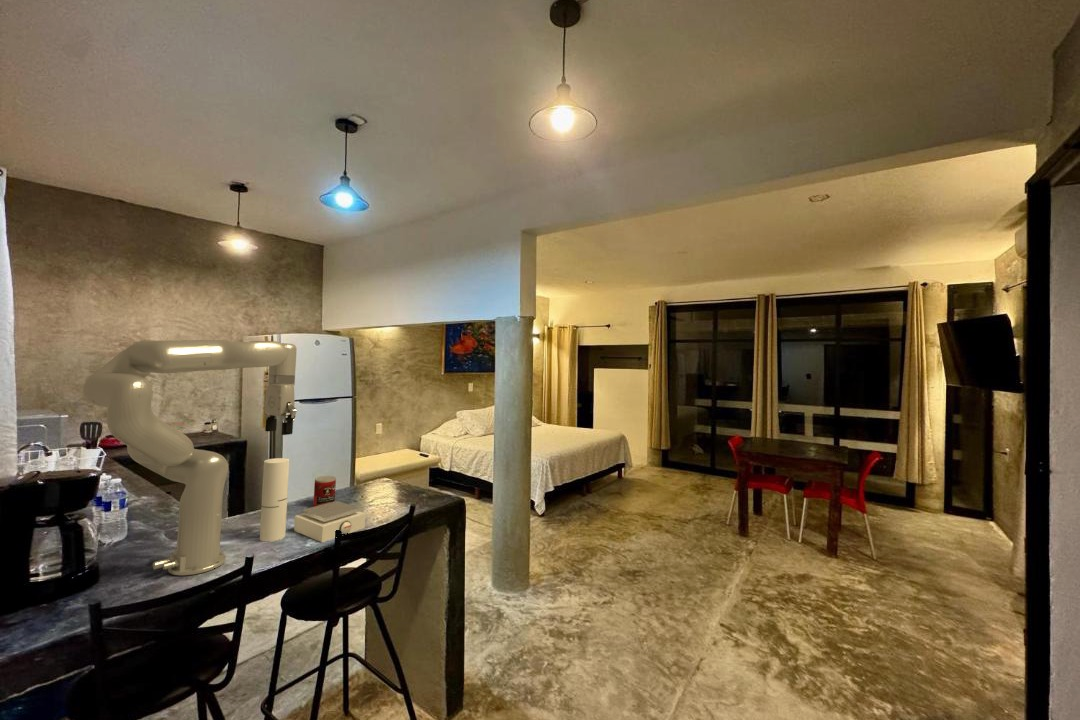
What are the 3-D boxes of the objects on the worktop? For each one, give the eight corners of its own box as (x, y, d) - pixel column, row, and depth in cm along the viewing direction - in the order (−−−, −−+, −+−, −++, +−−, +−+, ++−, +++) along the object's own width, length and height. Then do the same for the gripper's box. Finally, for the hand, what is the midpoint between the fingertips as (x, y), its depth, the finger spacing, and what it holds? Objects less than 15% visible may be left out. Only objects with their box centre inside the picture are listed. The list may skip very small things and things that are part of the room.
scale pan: (324, 521, 141) (324, 518, 141) (301, 513, 148) (302, 509, 148) (359, 511, 152) (359, 508, 152) (336, 504, 159) (336, 500, 159)
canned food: (315, 510, 168) (317, 481, 168) (311, 504, 174) (312, 477, 174) (336, 506, 173) (338, 479, 173) (331, 501, 179) (333, 474, 179)
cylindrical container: (289, 536, 142) (293, 460, 143) (266, 543, 136) (271, 464, 137) (277, 531, 146) (281, 457, 146) (255, 538, 140) (259, 460, 140)
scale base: (323, 543, 138) (324, 527, 138) (294, 530, 147) (294, 516, 147) (366, 528, 152) (367, 514, 152) (337, 517, 161) (337, 504, 161)
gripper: (255, 379, 143) (252, 430, 143) (284, 382, 134) (281, 437, 134) (279, 379, 150) (276, 428, 149) (308, 382, 141) (305, 434, 141)
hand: (278, 432), depth 142 cm, fingers open, 9 cm apart
